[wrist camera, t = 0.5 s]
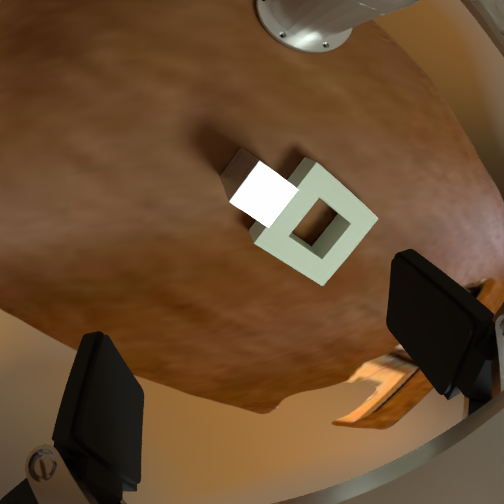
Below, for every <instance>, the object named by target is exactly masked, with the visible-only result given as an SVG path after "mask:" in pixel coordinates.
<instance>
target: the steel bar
mask: <svg viewBox="0 0 504 504" xmlns="http://www.w3.org/2000/svg"><path fill="white" fill-rule="evenodd" d="M220 178H221V181H222V184H223V186H224V189H225V192H226V195H227V197H228V200H229V202H230V203H232V204H233V205H235V206H236V207H238V208H239V209H241V210H243V211H244V212H246V213H247V214H249V215H250V216H252V217H253V218H255V219H256V220H258V221H259V222H261V223H262V224H264V225H265V226H267V227H268V228H269V226H270V225H271V224H272V222H273V221H274V220H275V218H276V217H277V216H278V215H279V213H280V212H281V211H282V209H283V208H284V207H285V206H286V204H287V203H288V202H289V200H290V199H291V198H292V197H293V195H294V194H295V193H296V191H297V190H298V189H297V188H296V187H294V186H293V185H292V184H291V183H289V182H288V181H287V180H285V179H284V178H283V177H282V176H280V175H279V174H278V173H276V172H275V171H274V170H272V169H271V168H270V167H268V166H267V165H266V164H264V163H263V162H262V161H260V160H259V159H257V158H256V157H255V156H253V155H252V154H250V153H249V152H248V151H246V150H245V149H243V148H242V147H241V148H240V149H239V151H238V152H237V153H236V155H235V156H234V157H233V159H232V160H231V161H230V163H229V164H228V166H227V167H226V168H225V170H224V171H223V172H222V174H221V175H220Z"/></svg>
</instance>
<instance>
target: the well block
mask: <svg viewBox="0 0 504 504" xmlns="http://www.w3.org/2000/svg"><path fill="white" fill-rule="evenodd" d="M287 181H288V182H289V183H291V184H292V185H293V186H294V187H296V188H297V189H298V190H297V191H296V193H295V194H294V195H293V197H292V198H291V199H290V200H289V202H288V203H287V204H286V206H285V207H284V208H283V209H282V211H281V212H280V213H279V215H278V216H277V217H276V218H275V220H274V221H273V222H272V224H271V225H270V226H269V228H268V227H267V226H265V225H264V224H262V223H261V222H259V221H258V220H256V221H255V223H254V224H253V225H252V227H251V228H250V229H249V233H250V235H251V238H252V240H253V242H254V244H256V245H258V246H259V247H261V248H262V249H264V250H266V251H267V252H269V253H270V254H272V255H274V256H275V257H277V258H278V259H280V260H282V261H283V262H285V263H286V264H288V265H290V266H291V267H293V268H294V269H296V270H298V271H299V272H301V273H302V274H304V275H306V276H307V277H309V278H310V279H312V280H313V281H315V282H317V283H318V284H320V285H321V286H323V285H324V284H325V283H326V282H327V281H328V279H329V278H330V277H331V276H332V275H333V274H334V272H335V271H336V270H337V269H338V268H339V267H340V265H341V264H342V263H343V262H344V261H345V259H346V258H347V257H348V256H349V255H350V253H351V252H352V251H353V250H354V248H355V247H356V246H357V245H358V244H359V242H360V241H361V240H362V239H363V237H364V236H365V235H366V234H367V232H368V231H369V230H370V229H371V227H372V226H373V225H374V223H375V222H376V221H377V220H378V217H377V216H375V215H374V214H373V213H372V212H371V211H370V210H369V209H368V208H367V207H366V206H365V205H364V204H363V203H362V202H361V201H360V200H359V199H358V198H357V197H355V196H354V195H353V194H352V193H351V192H350V191H349V190H348V189H347V188H346V187H345V186H343V185H342V184H341V183H340V182H339V181H338V180H337V179H336V178H334V177H333V176H332V175H331V174H330V173H329V172H328V171H326V170H325V169H324V168H323V167H322V166H321V165H319V164H318V163H317V162H315V161H313V160H311V159H308V158H306V157H304V159H303V160H302V161H301V163H300V164H299V165H298V166H297V168H296V169H295V170H294V172H293V173H292V174H291V176H290V177H289V178H288V179H287ZM318 198H320V199H321V200H322V201H324V202H325V203H326V204H327V205H329V206H330V207H331V208H332V209H333V210H335V211H336V212H337V213H338V214H337V215H336V217H335V218H334V219H333V221H332V222H331V223H330V224H329V226H328V227H327V228H326V229H325V231H324V232H323V233H322V234H321V236H320V237H319V238H318V239H317V240H316V242H315V243H314V244H313V245H312V246H310V245H309V244H307V243H306V242H304V241H303V240H302V239H300V238H299V237H297V236H296V235H294V234H293V233H292V231H293V230H294V229H295V227H296V226H297V225H298V224H299V222H300V221H301V220H302V218H303V217H304V216H305V215H306V213H307V212H308V211H309V210H310V208H311V207H312V206H313V204H314V203H315V202H316V201H317V199H318Z"/></svg>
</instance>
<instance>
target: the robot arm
mask: <svg viewBox="0 0 504 504" xmlns="http://www.w3.org/2000/svg"><path fill="white" fill-rule="evenodd" d="M417 1H419V0H265V1H262V0H257V1H256V8H257V14H258V17H259V19H260V22H261V23H262V25H263V27H264V28H265V30H266V31H267V32H268V33H269V34H270V35H271V36H272V37H273V38H274V39H276V40H277V41H278V42H280V43H281V44H283V45H285V46H287V47H289V48H291V49H294V50H296V51H301V52H305V53H322V52H326V51H329V50H332V49H334V48H337V47H339V46H340V45H341V44H343V43H344V42H345V41H346V40H347V39H348V37H349V36H350V34H351V32H352V29H353V27H355V26H357V25H360V24H362V23H365V22H367V21H370V20H372V19H375V18H377V17H380V16H383V15H386V14H388V13H391V12H394V11H397V10H399V9H402V8H405V7H408V6H411V5H413V4H414V3H416V2H417ZM460 1H461V2H462V3H463V4H464V6H465V7H466V8H467V9H468V10H469V12H470V13H471V14H472V15H473V17H474V18H475V19H476V20H477V22H478V23H479V24H480V26H481V27H482V28H483V30H484V31H485V32H486V34H487V35H488V36H489V37H490V39H491V40H492V42H493V43H494V45H495V46H496V47H497V49H498V50H499V52H500V53H501V54H502V55H503V57H504V0H460ZM279 35H282V36H283V38H281V37H280V36H279ZM323 45H324V46H325V48H324V47H323ZM493 316H494V314H493V313H492V312H491V311H490V310H489V309H488V308H487V307H485V306H484V305H483V304H482V303H481V302H480V301H478V300H477V299H476V298H475V297H474V296H472V295H471V294H470V293H469V292H468V291H466V290H465V289H464V288H463V287H461V286H460V285H459V284H458V283H456V282H455V281H454V280H453V279H451V278H450V277H449V276H448V275H446V274H445V273H444V272H443V271H441V270H440V269H439V268H437V267H436V266H435V265H433V264H432V263H431V262H429V261H428V260H427V259H425V258H424V257H423V256H421V255H420V254H419V253H417V252H416V251H415V250H413V249H408V250H405V251H402V252H399V253H397V254H396V255H395V257H394V259H393V260H392V262H391V274H390V288H389V299H388V309H387V318H386V323H387V327H388V329H389V331H390V332H391V333H392V334H393V336H394V337H395V338H396V339H397V341H398V342H399V343H400V344H401V345H402V347H403V348H404V349H405V351H406V352H407V353H408V354H409V356H410V357H411V358H412V359H413V361H414V362H415V363H416V365H417V366H418V367H419V368H420V370H421V371H422V372H423V374H424V375H425V376H426V377H427V379H428V380H429V381H430V383H431V384H432V385H433V387H434V388H435V389H436V391H437V392H438V393H439V394H440V395H443V394H444V396H445V397H446V398H447V400H450V399H451V398H453V397H454V396H456V395H457V394H459V393H460V391H461V392H462V394H463V395H464V407H463V417H462V421H461V422H459V423H458V424H456V425H455V426H453V427H452V428H450V429H449V430H447V431H446V432H444V433H442V434H441V435H439V436H438V437H436V438H434V439H433V440H431V441H429V442H428V443H426V444H424V445H423V446H420V447H419V448H417V449H415V450H413V451H411V452H409V453H408V454H406V455H404V456H402V457H400V458H398V459H396V460H394V461H392V462H390V463H388V464H385V465H383V466H381V467H379V468H377V469H375V470H372V471H370V472H368V473H365V474H363V475H361V476H358V477H356V478H353V479H351V480H348V481H345V482H343V483H340V484H337V485H335V486H332V487H329V488H326V489H323V490H320V491H317V492H314V493H310V494H307V495H304V496H300V497H297V498H293V499H289V500H285V501H281V502H277V503H273V504H504V315H501V316H500V317H499V318H498V319H497V321H496V323H494V322H493V321H492V319H493ZM143 407H144V392H143V389H142V387H141V386H140V384H139V383H138V381H137V380H136V379H135V377H134V375H133V374H132V372H131V371H130V369H129V368H128V366H127V365H126V363H125V362H124V360H123V359H122V357H121V355H120V354H119V352H118V351H117V349H116V347H115V346H114V344H113V342H112V341H111V339H110V337H109V336H108V335H104V334H103V333H102V332H100V331H98V332H93V333H88V334H85V335H84V336H83V338H82V340H81V343H80V346H79V348H78V351H77V354H76V357H75V360H74V363H73V366H72V369H71V372H70V375H69V378H68V381H67V384H66V388H65V391H64V394H63V398H62V401H61V405H60V408H59V412H58V416H57V419H56V424H55V427H54V432H53V436H52V440H53V441H54V446H51V445H47V444H44V445H39V446H37V447H36V448H34V449H33V450H32V451H31V452H30V453H29V455H28V456H27V458H26V462H25V473H26V477H27V478H26V479H24V480H23V481H22V482H21V483H20V484H19V485H17V486H16V487H15V488H14V489H13V490H11V491H10V492H9V493H8V494H7V495H5V496H4V497H3V498H2V499H1V500H0V504H127V503H126V502H125V501H124V500H123V499H122V493H123V491H137V484H138V483H140V481H141V447H142V425H143Z"/></svg>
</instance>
